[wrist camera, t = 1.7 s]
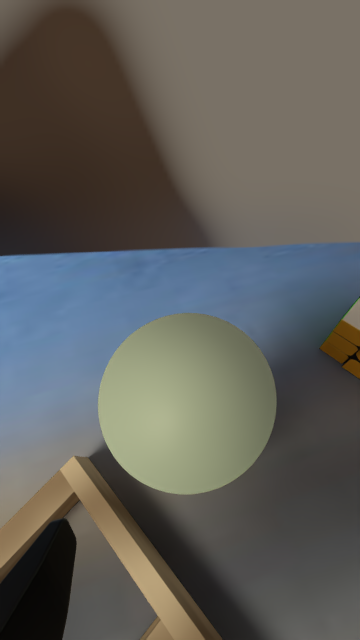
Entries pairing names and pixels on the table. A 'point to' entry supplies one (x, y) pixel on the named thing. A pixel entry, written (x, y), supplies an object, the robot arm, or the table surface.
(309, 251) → the table surface
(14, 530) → the wooden ladder frame
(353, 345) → the puzzle toy
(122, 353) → the green tapered capsule
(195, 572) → the table surface
